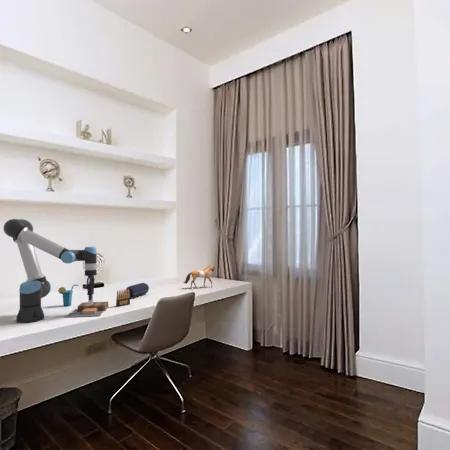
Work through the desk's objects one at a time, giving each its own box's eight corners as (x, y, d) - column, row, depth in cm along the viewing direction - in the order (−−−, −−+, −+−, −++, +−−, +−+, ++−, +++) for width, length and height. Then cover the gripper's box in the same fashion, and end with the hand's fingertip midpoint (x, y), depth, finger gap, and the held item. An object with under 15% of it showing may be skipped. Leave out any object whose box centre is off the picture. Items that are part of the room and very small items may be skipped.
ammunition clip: (128, 304, 255) (128, 288, 255) (130, 304, 253) (130, 288, 254) (115, 306, 246) (115, 290, 247) (117, 307, 245) (117, 290, 245)
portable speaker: (140, 293, 298) (140, 281, 298) (150, 293, 295) (150, 282, 295) (122, 298, 275) (122, 286, 275) (133, 299, 271) (133, 287, 271)
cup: (76, 303, 259) (76, 283, 259) (80, 304, 253) (80, 284, 254) (56, 306, 249) (56, 285, 249) (60, 307, 244) (60, 286, 244)
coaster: (82, 314, 223) (82, 311, 223) (84, 311, 231) (84, 308, 231) (94, 313, 225) (94, 310, 225) (97, 310, 232) (97, 307, 232)
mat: (65, 317, 216) (65, 317, 216) (70, 313, 228) (70, 312, 228) (99, 316, 220) (99, 315, 220) (103, 311, 231) (103, 311, 231)
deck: (77, 312, 231) (77, 306, 231) (82, 308, 242) (82, 302, 242) (105, 310, 233) (105, 305, 234) (108, 307, 245) (108, 301, 245)
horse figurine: (214, 286, 331) (214, 265, 332) (217, 287, 324) (216, 266, 324) (183, 288, 321) (183, 266, 321) (185, 289, 314) (185, 267, 314)
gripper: (94, 270, 225) (94, 306, 224) (98, 268, 238) (98, 302, 237) (82, 270, 223) (82, 306, 223) (87, 268, 236) (87, 302, 236)
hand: (90, 304), depth 230 cm, fingers closed
